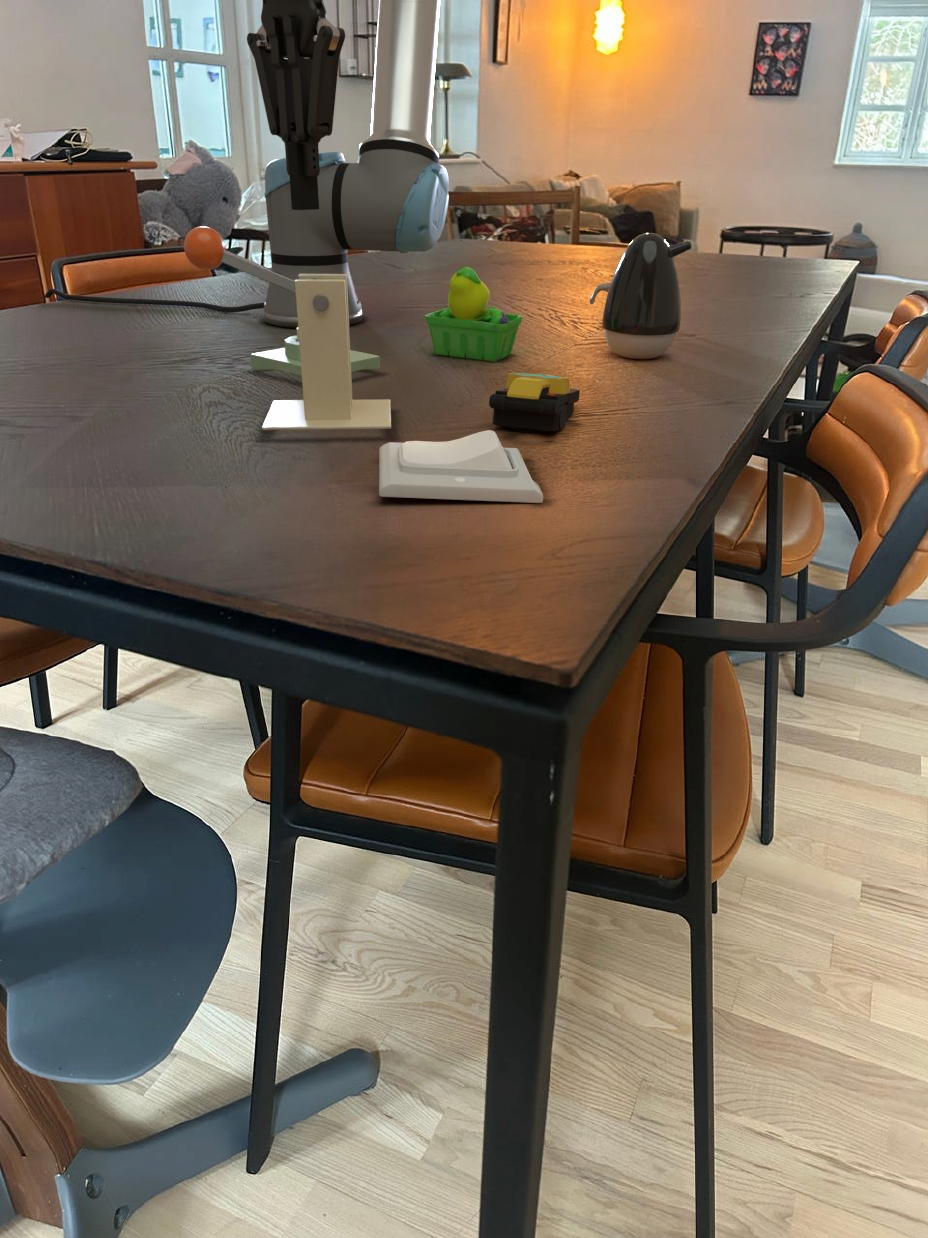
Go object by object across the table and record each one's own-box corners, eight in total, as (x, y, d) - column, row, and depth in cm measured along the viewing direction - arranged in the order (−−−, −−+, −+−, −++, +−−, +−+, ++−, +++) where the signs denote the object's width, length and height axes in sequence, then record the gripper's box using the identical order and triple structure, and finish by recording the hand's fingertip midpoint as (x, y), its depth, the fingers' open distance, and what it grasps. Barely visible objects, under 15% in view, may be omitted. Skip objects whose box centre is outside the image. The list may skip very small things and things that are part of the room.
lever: (175, 262, 77) (186, 220, 76) (183, 257, 80) (194, 217, 79) (329, 325, 81) (342, 287, 79) (331, 319, 84) (344, 282, 83)
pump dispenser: (678, 365, 113) (694, 237, 106) (597, 360, 115) (607, 234, 108) (677, 349, 122) (692, 230, 115) (602, 345, 124) (612, 228, 117)
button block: (252, 372, 107) (248, 338, 105) (314, 359, 113) (312, 327, 112) (318, 388, 100) (315, 352, 98) (380, 374, 107) (379, 340, 105)
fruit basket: (523, 353, 118) (527, 264, 113) (498, 366, 111) (501, 271, 106) (447, 345, 123) (447, 258, 117) (418, 357, 115) (417, 265, 110)
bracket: (262, 440, 82) (247, 284, 76) (274, 412, 91) (261, 269, 84) (391, 439, 83) (387, 284, 77) (390, 411, 92) (386, 270, 85)
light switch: (548, 460, 67) (380, 453, 66) (542, 511, 69) (378, 505, 68) (527, 421, 77) (380, 414, 75) (522, 467, 79) (378, 460, 77)
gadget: (582, 428, 91) (588, 373, 90) (553, 444, 80) (559, 381, 78) (523, 422, 93) (527, 368, 91) (485, 436, 81) (490, 374, 79)
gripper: (217, -53, 88) (241, 207, 99) (302, -69, 81) (319, 213, 92) (276, -41, 93) (293, 205, 104) (362, -56, 86) (370, 211, 97)
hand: (305, 208), depth 98 cm, fingers closed
